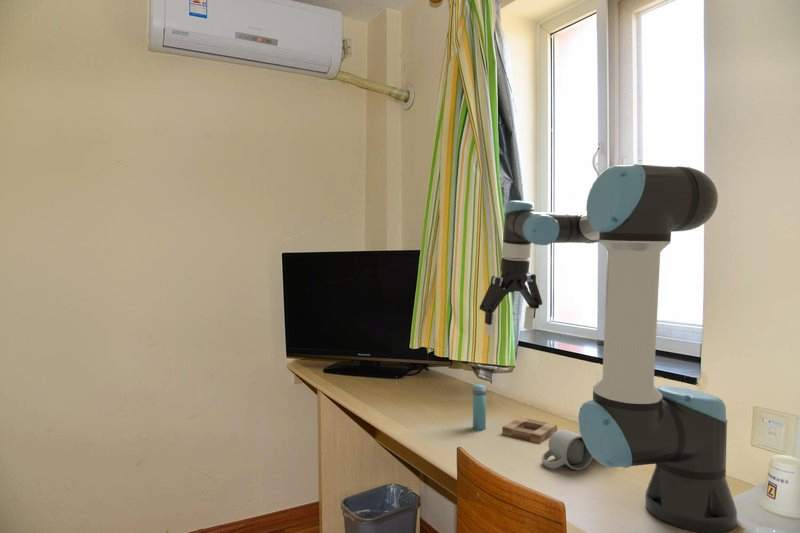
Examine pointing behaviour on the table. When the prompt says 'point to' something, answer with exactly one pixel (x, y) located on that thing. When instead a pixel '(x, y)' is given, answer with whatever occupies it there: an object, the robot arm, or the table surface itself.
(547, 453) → the ceramic mug
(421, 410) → the table surface
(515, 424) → the square hole plate
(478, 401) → the banded teal cylinder
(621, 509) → the table surface
